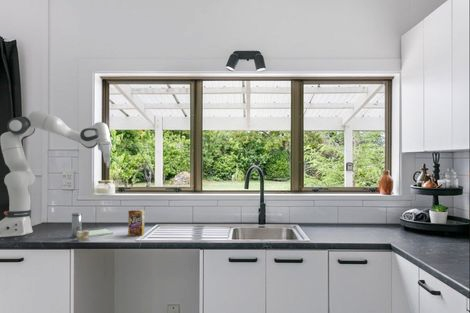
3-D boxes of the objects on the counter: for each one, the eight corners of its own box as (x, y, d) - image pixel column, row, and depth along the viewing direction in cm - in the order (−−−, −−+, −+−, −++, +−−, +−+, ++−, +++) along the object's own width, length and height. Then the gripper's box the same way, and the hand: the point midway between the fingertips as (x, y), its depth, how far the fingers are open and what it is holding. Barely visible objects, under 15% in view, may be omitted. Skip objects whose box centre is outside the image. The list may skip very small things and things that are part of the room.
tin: (72, 238, 191) (73, 214, 191) (70, 237, 195) (70, 213, 195) (82, 237, 194) (83, 213, 194) (80, 235, 198) (80, 212, 199)
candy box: (127, 235, 199) (128, 210, 200) (130, 234, 203) (130, 209, 204) (141, 236, 198) (142, 210, 199) (144, 234, 203) (144, 209, 203)
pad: (89, 237, 195) (89, 235, 195) (82, 233, 206) (82, 231, 206) (113, 233, 204) (113, 232, 204) (105, 230, 215) (105, 228, 215)
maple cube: (79, 241, 184) (79, 232, 184) (76, 239, 188) (77, 231, 188) (88, 240, 187) (88, 231, 187) (86, 238, 191) (86, 230, 191)
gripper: (100, 151, 227) (103, 170, 224) (99, 141, 208) (103, 162, 206) (109, 149, 229) (113, 168, 227) (109, 140, 211) (113, 160, 208)
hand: (108, 165), depth 216 cm, fingers open, 8 cm apart
